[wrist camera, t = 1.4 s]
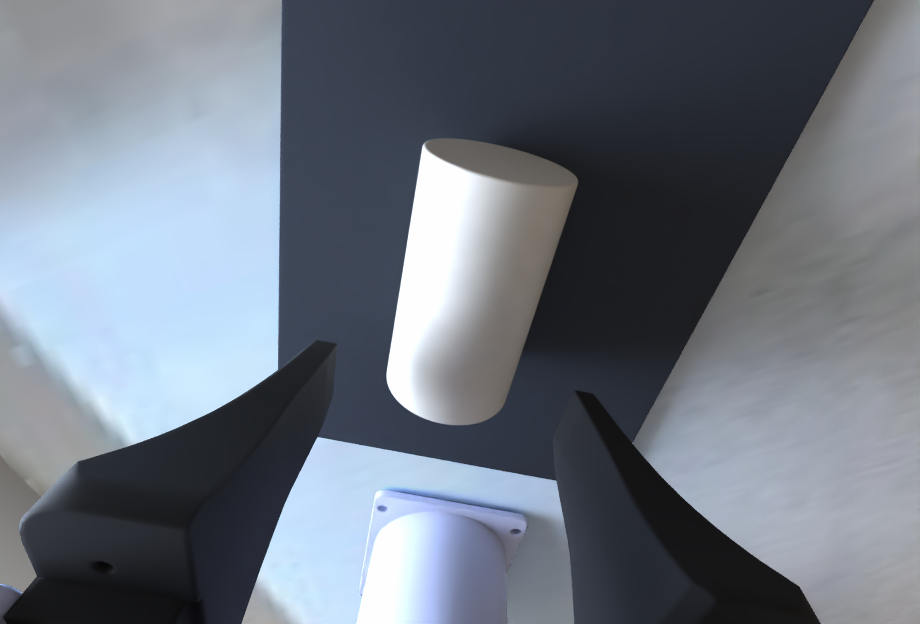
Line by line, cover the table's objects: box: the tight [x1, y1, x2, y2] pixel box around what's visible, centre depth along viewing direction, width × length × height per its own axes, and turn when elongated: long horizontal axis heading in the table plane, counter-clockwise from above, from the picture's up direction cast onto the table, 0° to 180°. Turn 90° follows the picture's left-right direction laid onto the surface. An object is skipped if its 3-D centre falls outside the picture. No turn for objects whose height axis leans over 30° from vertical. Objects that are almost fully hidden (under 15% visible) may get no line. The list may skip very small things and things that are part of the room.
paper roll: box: [387, 138, 578, 425], centre depth 15 cm, size 8×4×4 cm, turn 168°
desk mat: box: [278, 0, 874, 481], centre depth 17 cm, size 22×16×1 cm
